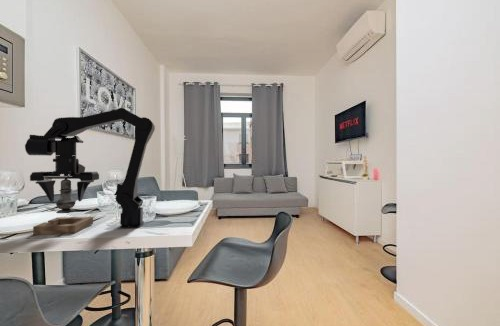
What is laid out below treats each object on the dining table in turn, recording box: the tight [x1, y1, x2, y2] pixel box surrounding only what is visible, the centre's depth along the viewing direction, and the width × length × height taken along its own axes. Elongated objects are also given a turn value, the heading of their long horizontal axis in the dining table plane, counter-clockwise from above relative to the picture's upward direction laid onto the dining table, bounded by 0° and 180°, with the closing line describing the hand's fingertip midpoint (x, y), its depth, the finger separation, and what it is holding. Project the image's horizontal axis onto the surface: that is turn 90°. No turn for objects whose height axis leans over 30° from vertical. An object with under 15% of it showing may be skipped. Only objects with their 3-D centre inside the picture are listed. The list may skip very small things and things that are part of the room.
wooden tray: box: [32, 216, 94, 236], centre depth 84 cm, size 12×12×2 cm
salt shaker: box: [54, 179, 77, 214], centre depth 84 cm, size 6×6×12 cm
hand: (66, 201), depth 84 cm, fingers closed on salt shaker, 8 cm apart
